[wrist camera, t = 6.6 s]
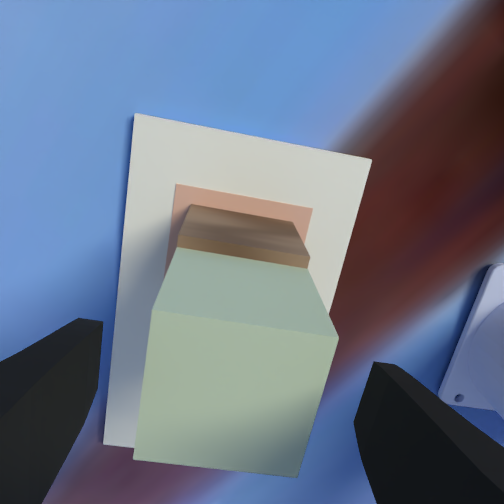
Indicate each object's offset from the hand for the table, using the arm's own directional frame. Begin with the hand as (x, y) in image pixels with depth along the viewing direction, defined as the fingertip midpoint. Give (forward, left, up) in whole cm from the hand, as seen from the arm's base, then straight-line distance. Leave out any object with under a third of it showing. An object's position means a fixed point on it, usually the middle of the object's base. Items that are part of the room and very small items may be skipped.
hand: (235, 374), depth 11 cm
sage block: (0, 0, -4) cm, 4 cm away
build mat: (0, +3, -9) cm, 9 cm away
